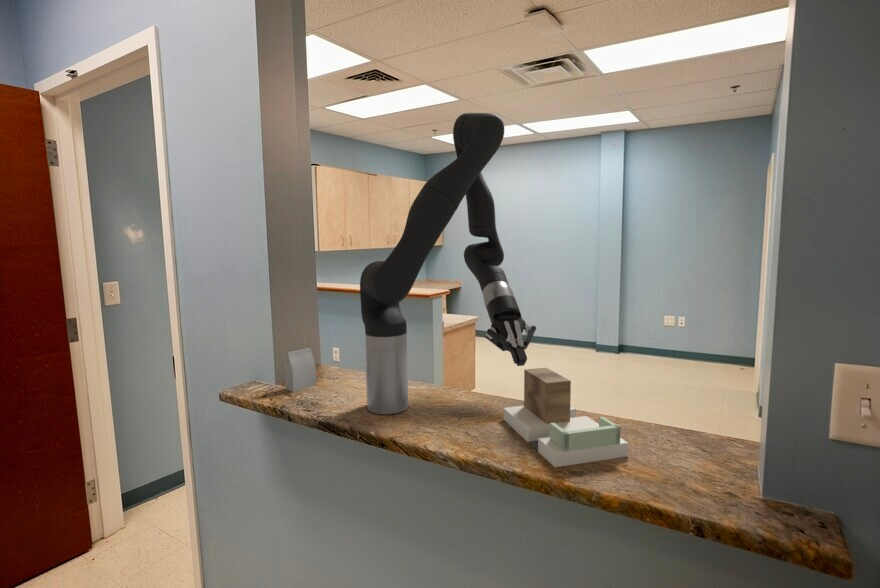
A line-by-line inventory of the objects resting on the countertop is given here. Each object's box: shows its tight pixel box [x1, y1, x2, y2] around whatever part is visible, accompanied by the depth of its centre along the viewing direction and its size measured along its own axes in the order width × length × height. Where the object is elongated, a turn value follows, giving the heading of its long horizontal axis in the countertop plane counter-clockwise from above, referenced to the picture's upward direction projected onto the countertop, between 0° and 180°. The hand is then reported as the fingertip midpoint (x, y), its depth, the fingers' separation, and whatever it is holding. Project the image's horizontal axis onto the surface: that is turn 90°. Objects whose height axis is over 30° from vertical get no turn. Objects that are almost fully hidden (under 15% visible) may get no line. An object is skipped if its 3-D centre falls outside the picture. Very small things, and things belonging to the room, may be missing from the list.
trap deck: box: [502, 405, 630, 468], centre depth 89 cm, size 22×14×6 cm, turn 15°
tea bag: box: [284, 347, 317, 393], centre depth 121 cm, size 4×7×10 cm, turn 139°
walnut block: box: [523, 367, 572, 424], centre depth 94 cm, size 10×5×8 cm, turn 15°
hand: (522, 364), depth 105 cm, fingers closed
